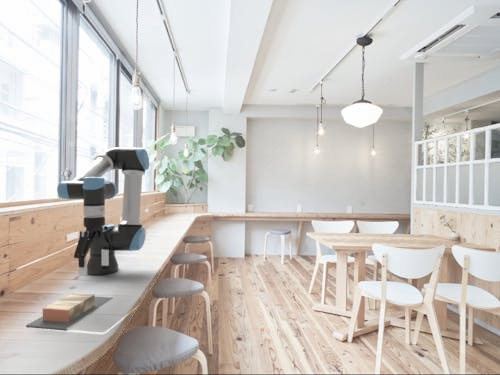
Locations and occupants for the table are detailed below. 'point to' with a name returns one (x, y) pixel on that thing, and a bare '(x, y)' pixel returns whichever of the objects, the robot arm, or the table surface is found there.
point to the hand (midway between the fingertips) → (94, 270)
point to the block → (68, 307)
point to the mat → (63, 325)
